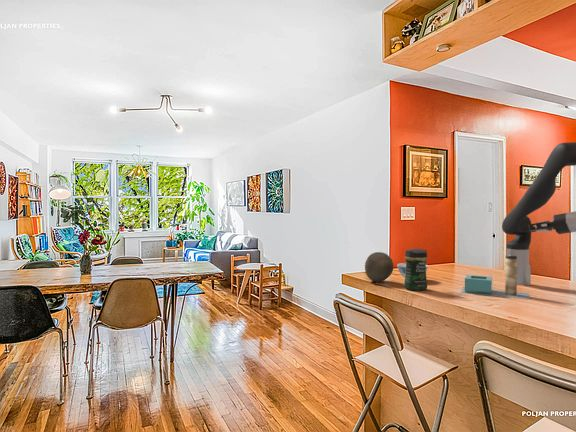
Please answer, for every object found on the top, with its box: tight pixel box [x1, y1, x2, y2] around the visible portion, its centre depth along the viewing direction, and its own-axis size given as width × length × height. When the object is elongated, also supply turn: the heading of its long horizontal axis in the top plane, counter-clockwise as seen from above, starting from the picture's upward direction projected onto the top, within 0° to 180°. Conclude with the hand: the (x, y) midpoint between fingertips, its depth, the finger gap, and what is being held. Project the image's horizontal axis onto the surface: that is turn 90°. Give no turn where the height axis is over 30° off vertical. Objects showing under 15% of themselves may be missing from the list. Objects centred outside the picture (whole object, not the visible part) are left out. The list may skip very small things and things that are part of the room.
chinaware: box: [396, 262, 429, 278], centre depth 193 cm, size 15×15×8 cm
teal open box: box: [464, 274, 493, 296], centre depth 161 cm, size 10×10×6 cm
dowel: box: [504, 254, 518, 296], centre depth 154 cm, size 4×4×16 cm
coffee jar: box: [404, 248, 428, 291], centre depth 170 cm, size 10×8×19 cm
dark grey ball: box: [364, 251, 394, 283], centre depth 188 cm, size 14×14×15 cm
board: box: [460, 286, 531, 301], centre depth 158 cm, size 25×13×1 cm, turn 59°
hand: (522, 230), depth 152 cm, fingers open, 8 cm apart
